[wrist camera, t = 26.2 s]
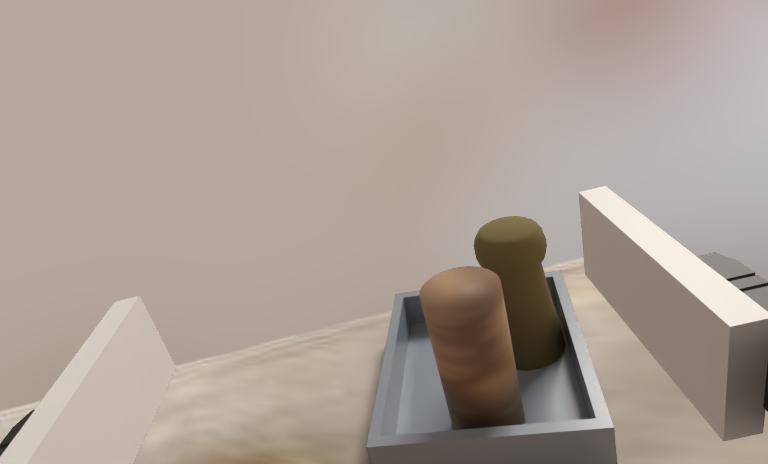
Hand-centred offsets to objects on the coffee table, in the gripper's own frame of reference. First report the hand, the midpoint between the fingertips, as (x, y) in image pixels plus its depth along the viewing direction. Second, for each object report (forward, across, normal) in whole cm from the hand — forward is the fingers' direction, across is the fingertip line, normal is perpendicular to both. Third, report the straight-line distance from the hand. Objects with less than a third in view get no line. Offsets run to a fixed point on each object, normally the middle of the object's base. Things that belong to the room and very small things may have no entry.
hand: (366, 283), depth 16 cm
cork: (+21, +9, -21) cm, 31 cm away
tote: (+18, +5, -22) cm, 29 cm away
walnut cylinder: (+14, +4, -21) cm, 25 cm away
